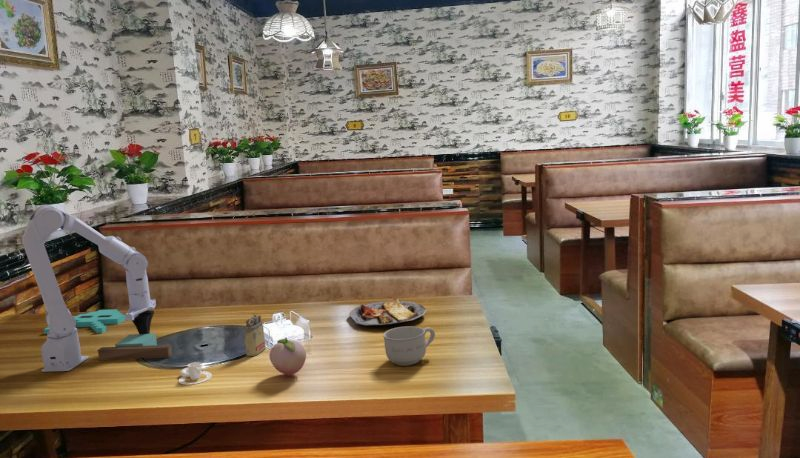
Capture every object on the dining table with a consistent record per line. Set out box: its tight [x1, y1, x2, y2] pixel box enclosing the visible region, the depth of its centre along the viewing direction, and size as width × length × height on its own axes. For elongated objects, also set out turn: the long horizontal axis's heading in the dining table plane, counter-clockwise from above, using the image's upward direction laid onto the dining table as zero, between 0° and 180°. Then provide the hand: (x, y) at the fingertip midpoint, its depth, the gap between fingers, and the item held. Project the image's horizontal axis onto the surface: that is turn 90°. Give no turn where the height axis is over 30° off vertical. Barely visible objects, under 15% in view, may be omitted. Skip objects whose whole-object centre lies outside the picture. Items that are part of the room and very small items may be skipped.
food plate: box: [348, 297, 427, 326], centre depth 188 cm, size 25×23×4 cm
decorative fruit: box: [268, 336, 307, 377], centre depth 146 cm, size 9×8×10 cm
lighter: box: [243, 314, 267, 357], centre depth 164 cm, size 7×4×10 cm, turn 163°
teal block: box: [114, 333, 158, 347], centre depth 171 cm, size 8×8×4 cm
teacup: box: [382, 325, 436, 367], centre depth 151 cm, size 14×11×8 cm
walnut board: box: [97, 344, 172, 361], centre depth 166 cm, size 2×20×3 cm, turn 87°
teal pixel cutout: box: [43, 308, 126, 334], centre depth 200 cm, size 20×2×20 cm
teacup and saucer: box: [178, 361, 213, 386], centre depth 149 cm, size 9×8×4 cm
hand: (144, 336), depth 175 cm, fingers closed
